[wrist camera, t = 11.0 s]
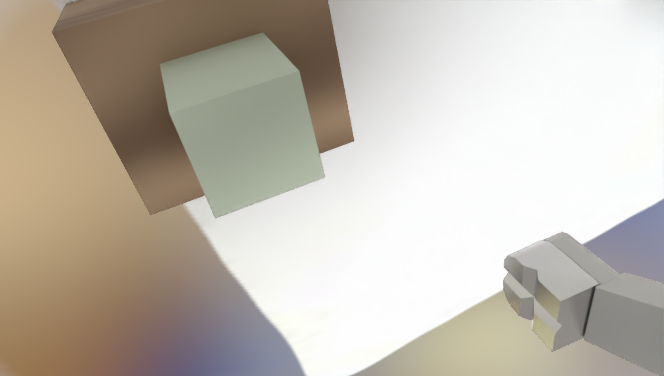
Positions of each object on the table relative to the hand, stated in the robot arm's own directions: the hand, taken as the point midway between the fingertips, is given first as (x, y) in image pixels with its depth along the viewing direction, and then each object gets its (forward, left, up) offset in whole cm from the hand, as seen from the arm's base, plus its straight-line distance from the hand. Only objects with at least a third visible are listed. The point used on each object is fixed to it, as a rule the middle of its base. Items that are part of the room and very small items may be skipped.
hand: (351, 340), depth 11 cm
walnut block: (0, 0, -22) cm, 22 cm away
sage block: (0, 0, -16) cm, 16 cm away
